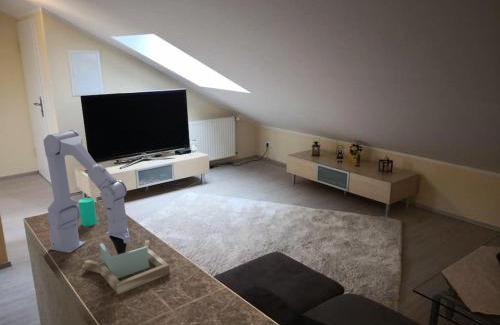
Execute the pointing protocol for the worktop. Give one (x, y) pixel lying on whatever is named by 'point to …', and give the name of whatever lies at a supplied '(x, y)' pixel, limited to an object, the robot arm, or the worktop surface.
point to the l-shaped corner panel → (125, 261)
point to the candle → (87, 211)
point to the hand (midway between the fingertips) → (121, 254)
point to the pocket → (136, 280)
